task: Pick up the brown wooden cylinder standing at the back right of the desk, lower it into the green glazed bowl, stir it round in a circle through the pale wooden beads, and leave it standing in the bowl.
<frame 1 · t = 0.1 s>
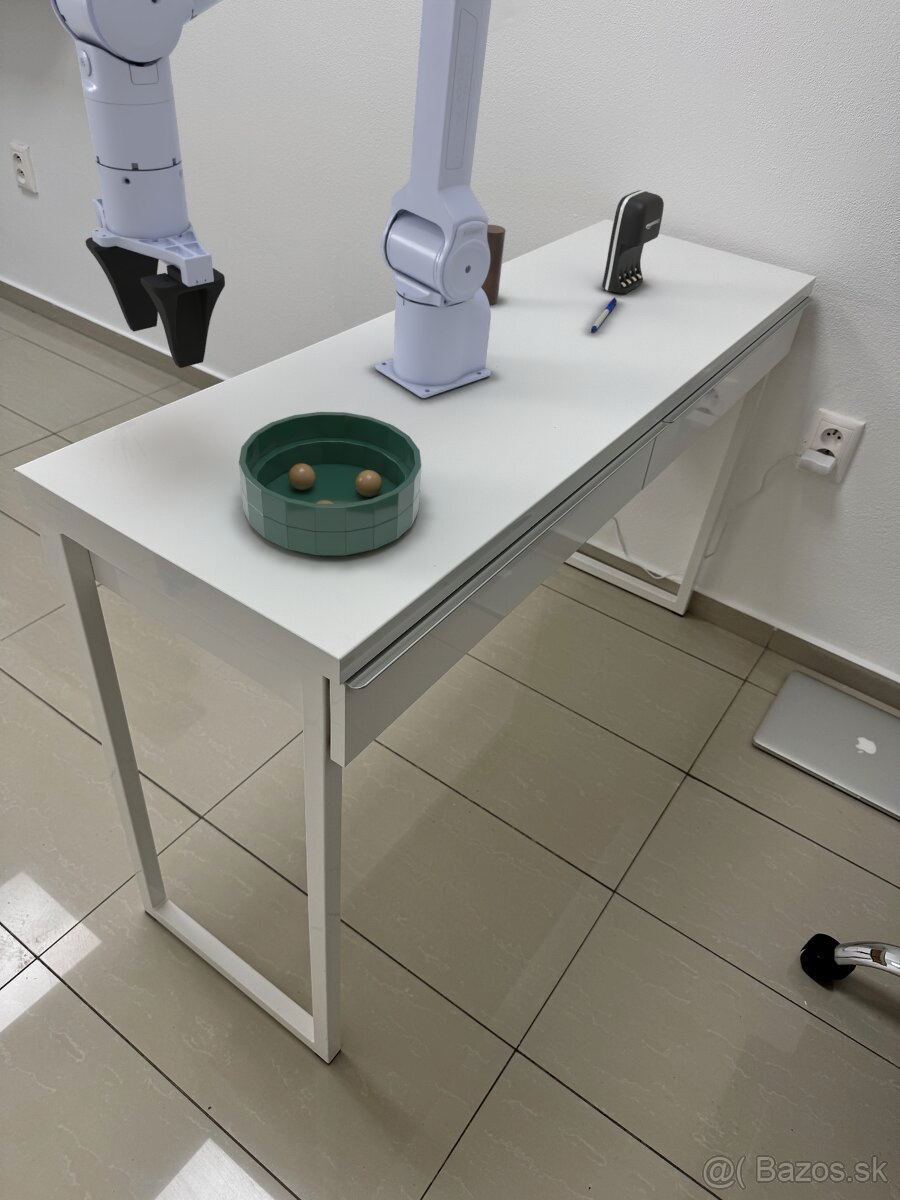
hand: (165, 345, 69), 10 cm above the table, tool pointing down, fingers open, 7 cm apart
ballpoint pen: (603, 319, 106), on the table
bead 3: (301, 476, 71), point 2 cm above the table, touching bowl
bead 1: (324, 514, 68), point 2 cm above the table, touching bowl
battery charger: (624, 289, 114), on the table
brown wooden cylinder: (485, 300, 107), on the table
bead 2: (368, 483, 71), point 2 cm above the table, touching bowl
bowl: (332, 508, 71), on the table
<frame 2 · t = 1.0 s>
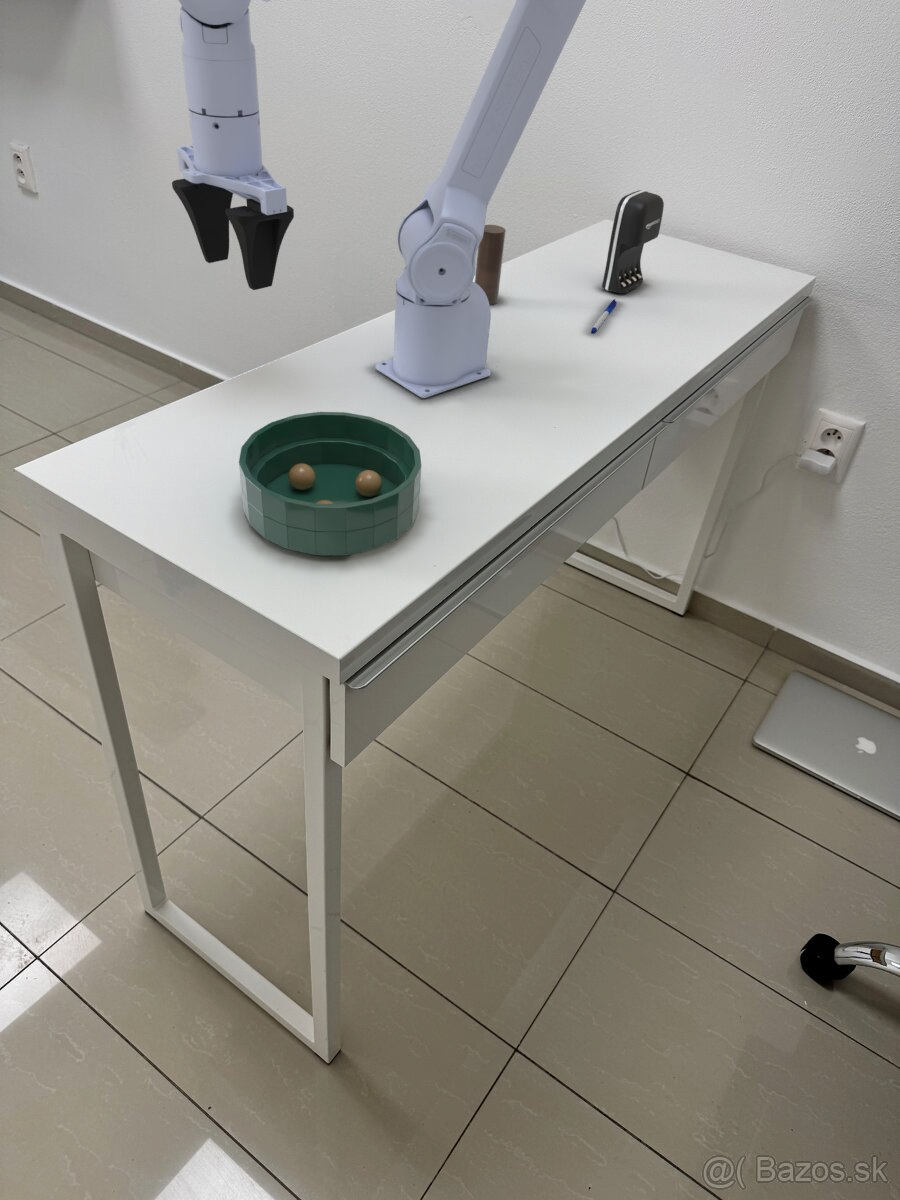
hand: (238, 273, 81), 10 cm above the table, tool pointing down, fingers open, 7 cm apart
nothing on the table moved.
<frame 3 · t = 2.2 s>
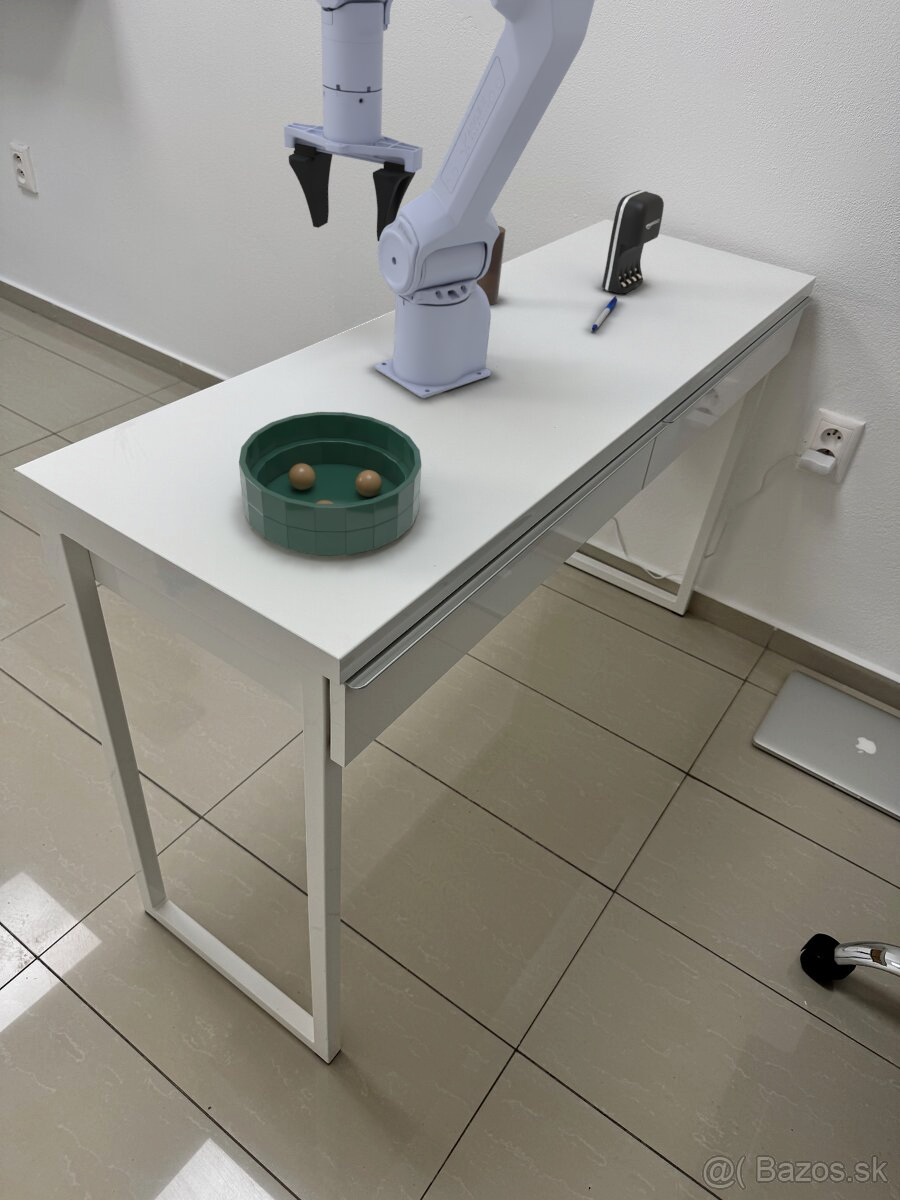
hand: (352, 232, 92), 10 cm above the table, tool pointing down, fingers open, 7 cm apart
nothing on the table moved.
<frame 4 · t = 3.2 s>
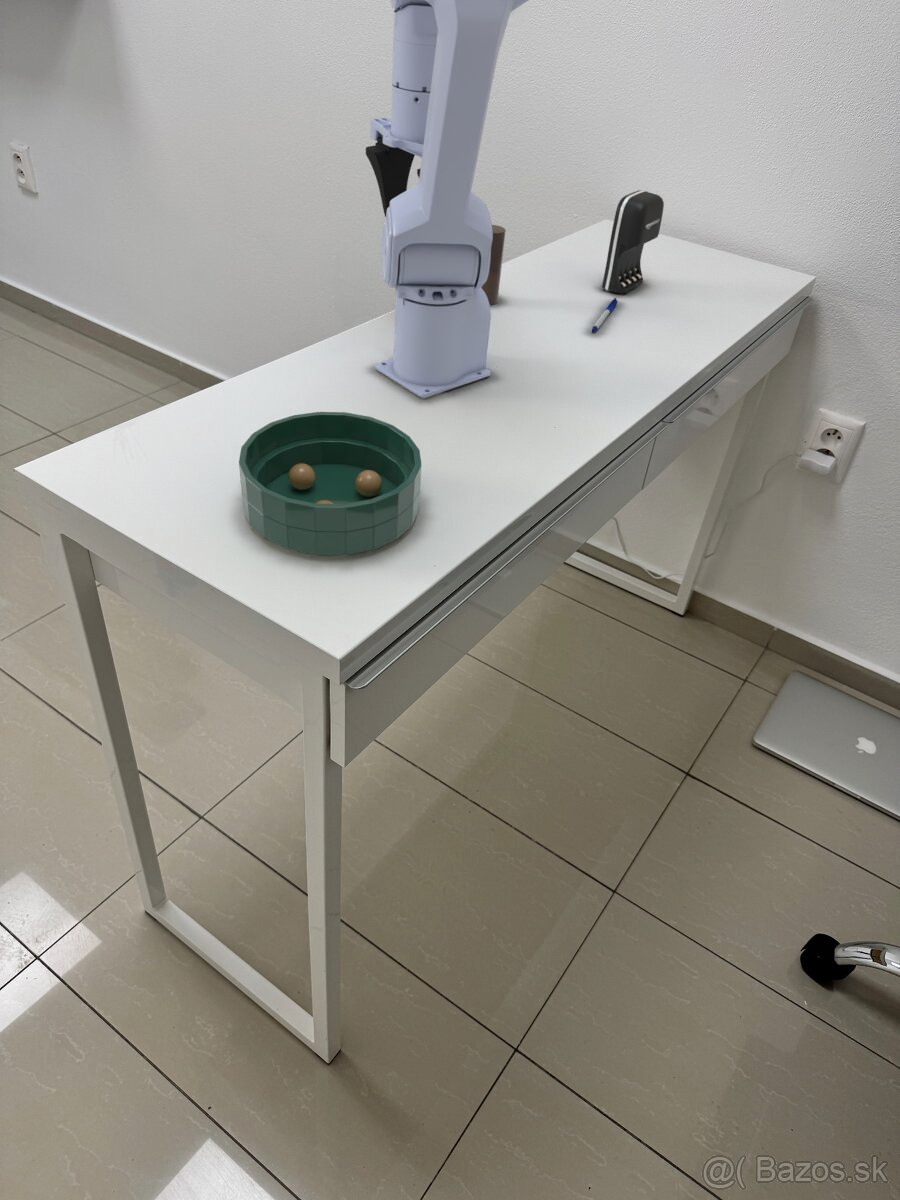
hand: (414, 226, 96), 10 cm above the table, tool pointing down, fingers open, 7 cm apart
nothing on the table moved.
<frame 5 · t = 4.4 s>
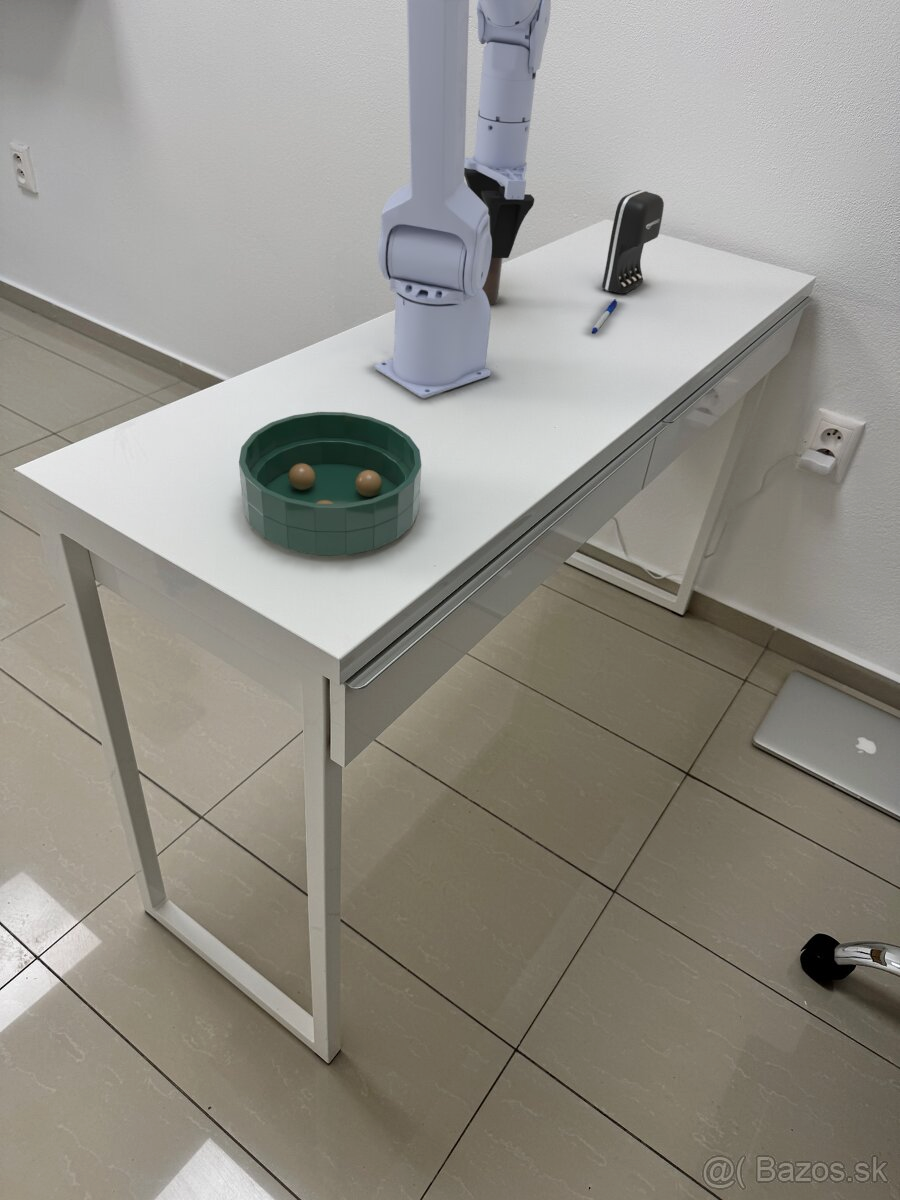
hand: (491, 245, 103), 7 cm above the table, tool pointing down, fingers open, 7 cm apart
nothing on the table moved.
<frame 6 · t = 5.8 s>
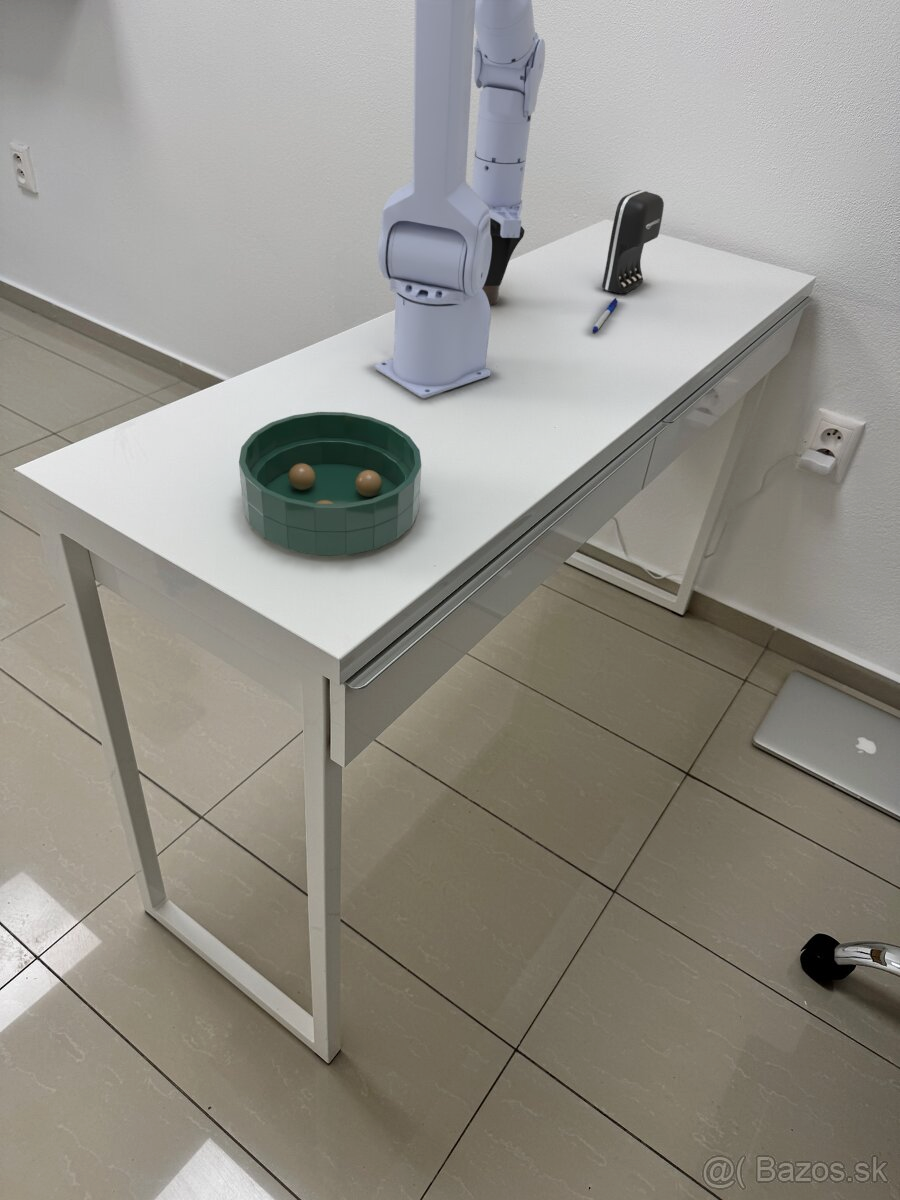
hand: (487, 279, 105), 3 cm above the table, tool pointing down, fingers closed on brown wooden cylinder, 3 cm apart
brown wooden cylinder: (485, 300, 107), on the table, touching gripper
everything else where it was.
when the fingers open (3 cm above the table, at t = 15.7 s): brown wooden cylinder stays where it is, resting on bowl.
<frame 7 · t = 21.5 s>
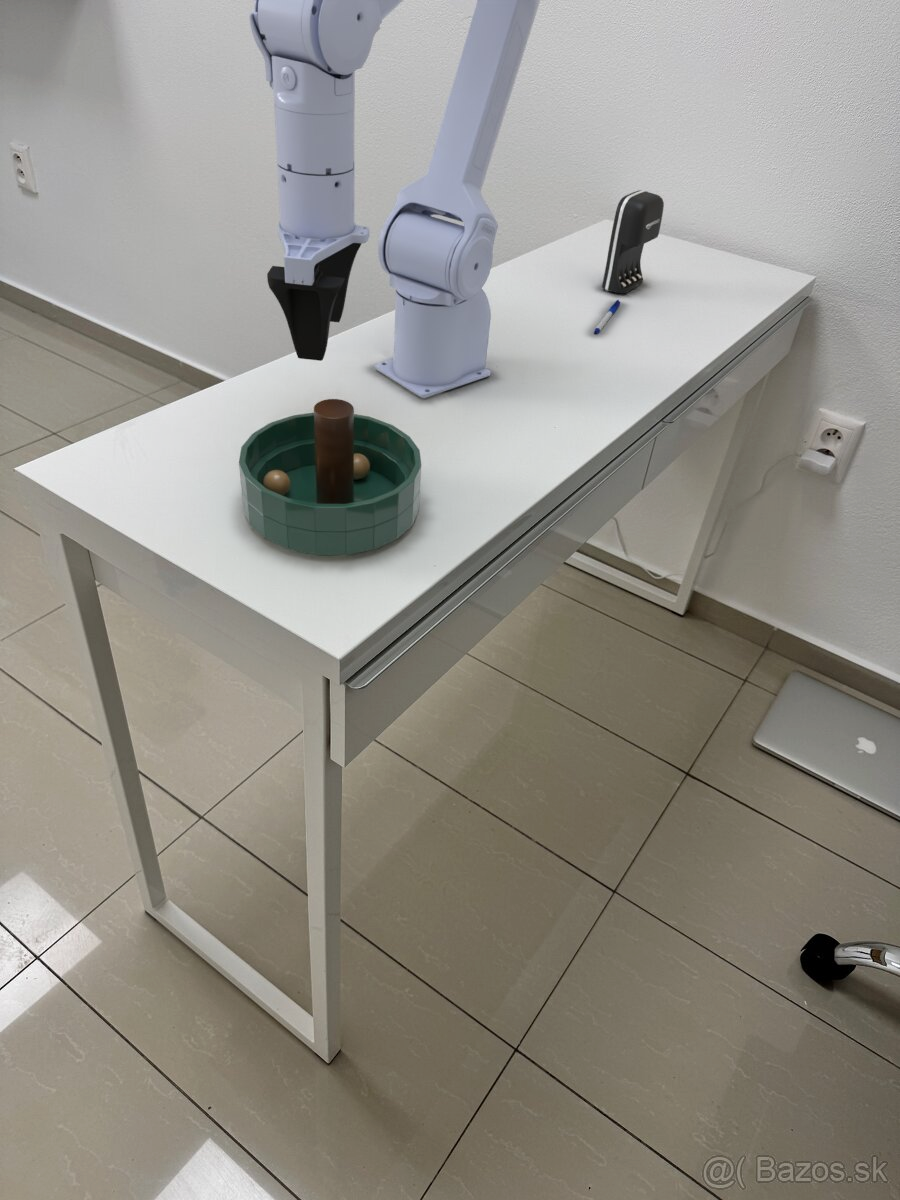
hand: (320, 338, 74), 9 cm above the table, tool pointing down, fingers open, 7 cm apart
bead 3: (276, 483, 70), point 2 cm above the table, tilted 94°, touching bowl
bead 1: (322, 519, 67), point 2 cm above the table, tilted 36°, touching bowl
brown wooden cylinder: (335, 501, 71), point 1 cm above the table, touching bowl
bead 2: (356, 466, 73), point 2 cm above the table, tilted 106°, touching bowl
everything else where it was.
at the end: bead 2 moved 2.7 cm from its start; brown wooden cylinder inside the target area in the bowl (0.2 cm from its centre), point 0.6 cm above the bowl's base; the gripper is holding nothing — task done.
